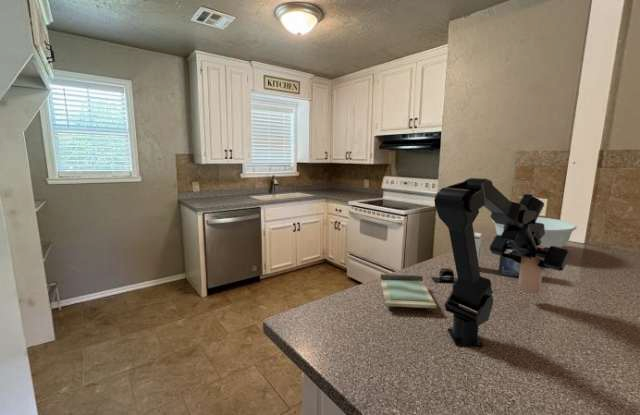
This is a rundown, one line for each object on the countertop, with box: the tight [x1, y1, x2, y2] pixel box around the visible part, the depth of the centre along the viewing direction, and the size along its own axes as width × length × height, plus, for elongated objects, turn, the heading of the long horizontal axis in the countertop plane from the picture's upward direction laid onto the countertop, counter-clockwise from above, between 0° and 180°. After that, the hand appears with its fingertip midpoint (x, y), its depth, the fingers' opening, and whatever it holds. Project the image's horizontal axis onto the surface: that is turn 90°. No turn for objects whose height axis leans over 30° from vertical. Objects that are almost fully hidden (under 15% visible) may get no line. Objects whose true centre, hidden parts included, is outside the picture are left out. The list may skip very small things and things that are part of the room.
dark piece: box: [431, 267, 458, 284], centre depth 109 cm, size 12×7×5 cm, turn 86°
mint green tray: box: [380, 273, 437, 313], centre depth 94 cm, size 18×14×4 cm
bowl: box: [491, 216, 578, 248], centre depth 140 cm, size 32×32×15 cm
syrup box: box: [474, 231, 483, 265], centre depth 119 cm, size 6×6×14 cm
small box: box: [498, 255, 520, 279], centre depth 112 cm, size 11×6×10 cm, turn 62°
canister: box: [517, 244, 545, 294], centre depth 90 cm, size 6×6×14 cm
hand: (533, 266), depth 90 cm, fingers closed on canister, 6 cm apart
